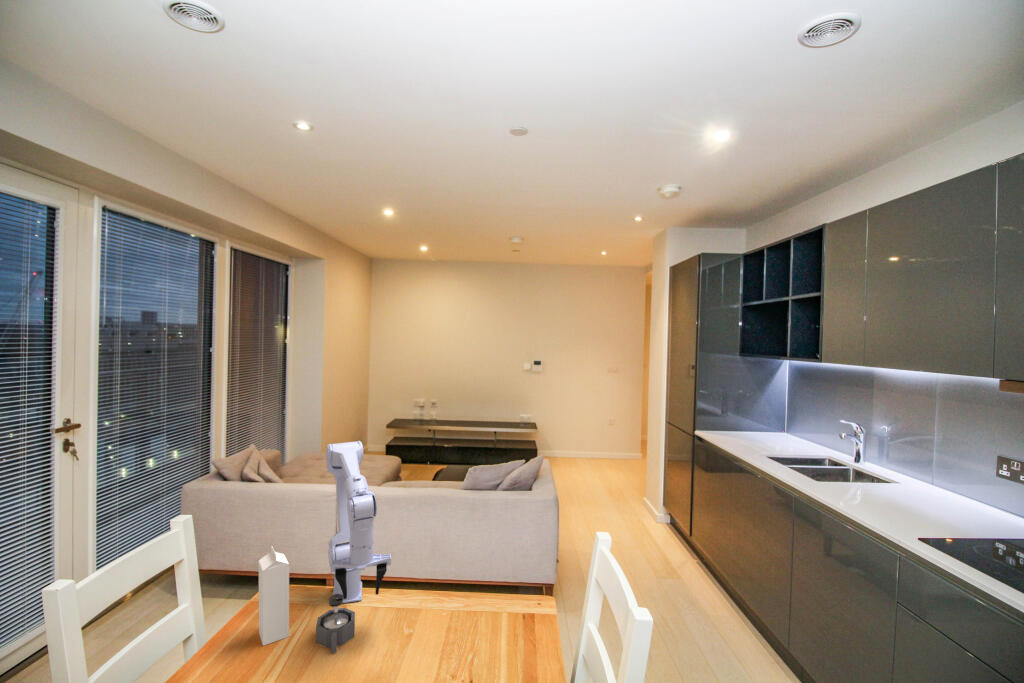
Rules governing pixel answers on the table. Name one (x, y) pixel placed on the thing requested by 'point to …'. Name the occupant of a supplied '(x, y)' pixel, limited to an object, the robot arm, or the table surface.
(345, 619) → the plunger
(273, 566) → the milk
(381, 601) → the table surface
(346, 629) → the grey jug
